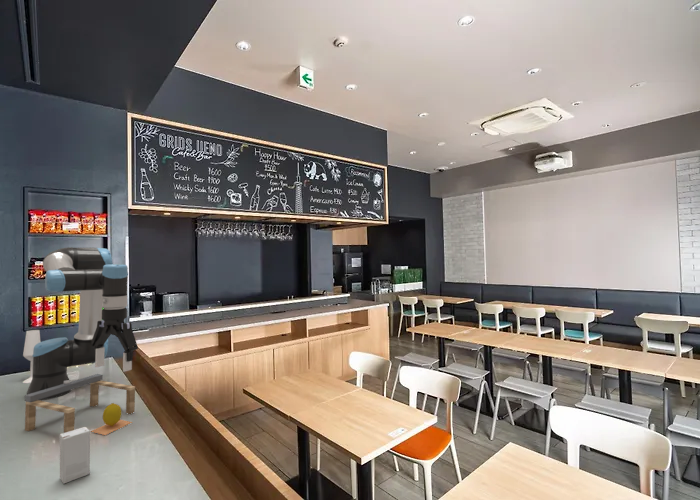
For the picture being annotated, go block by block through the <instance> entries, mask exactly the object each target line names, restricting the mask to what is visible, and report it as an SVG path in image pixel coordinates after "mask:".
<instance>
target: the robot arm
mask: <svg viewBox="0 0 700 500" xmlns="http://www.w3.org/2000/svg"><path fill="white" fill-rule="evenodd" d="M42 266H43V267H42V268H43V270H45V271H46V273H45V277H44V278H45V281H44V282H45V283H44V284H45V285H44V287H45V291H46V292H55V293H61V292H62V293H63V292H76V291H77V292H79V291H80V293H79V296H80V297H79V314H78V315H79V316H78V331H77V332H76V333H75V334H74V336H73V339H70V340H69V339H68V338H67V337H65V336H64V337H55V338H51V339H50V338H49V339H46V340H42V341H40V343H38V344H36V345H35V346H34V350H33V355H32V356H33V376H32V381H31V383H29V386H28V388H27V391H26V395H27V394H31V393H34V392H38V391H41V390H44V389H48V388H51V387H55V386H58V385H61V384H64V381H66V380H70V378H69V375H68V370H67V369H68V368H69V367H74V366H75V367H76V366H83V365H89V364H92V365H93V364H95V365H94V366H95V368H99V367H104V366H105V359H106V358H107V354H108V351H109V350H108V349H109V338H110V337H111V335H112V336H114V337H116V338H117V339H118V341H119V343H120V344H121V346H122V348H123V350H124V351H123V353H122V354H123V355H122V357H123V358H122V372H129V371H131V370H132V369H133V359H134V358H133V357H134V355H133V354H134V351H136V350H138V349H139V346H138V343H137V340H136V337H135V334H134V331H133V327H132V325H133V324H132V322H131V321H129V322H125V320H126V319H127V318H128V308H127V306H128V282H129V281H128V280H129V279H128V277H129V272H128V271H129V270H128V269H129V268H128V265H127V264H116V263H115V264H114V262H113V257H112V253H111V251H110V249H108V248H102V247H69V246H68V247H63V248H58V249H56V250H55V249H54V250H52V251H51V252H49V253H48V254H46V255H45V256H44V258H43V260H42ZM71 391H72V389H71V390H68V391H65V392H62V393H59V394H55V395H52V396H49V397H46V398H43V399H39V400H40V401H44V400H49V399H53V398H57V397H58V398H59V397H61V396H64V395H66V394H68V393H70V392H71Z"/></svg>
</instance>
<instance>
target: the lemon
mask: <svg viewBox="0 0 700 500" xmlns="http://www.w3.org/2000/svg"><path fill="white" fill-rule="evenodd" d="M121 419H122V408H121V406H120V405H119V404H117V403H114V402H112V403H110V404H109V405H107V406H106V407H105V408H104V410H103V413H102V420H103V423H104V425H110V426H113V425H114V424H116V423H117V422H118V421H119V420H121Z"/></svg>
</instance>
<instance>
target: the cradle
mask: <svg viewBox="0 0 700 500" xmlns="http://www.w3.org/2000/svg"><path fill="white" fill-rule="evenodd" d="M89 385H90V386H89V389H90V390H89V407H91V406H93V407H92V408H95V407H97V406H99V395H100V392H99V389H100V388H99V386H102V387H107V388H114V389H117V390H118V389H119V390H125V391H126V394H125V395H126V399H125V414H126V413H128V414H127V415H129V414H130V415H132V414H134V413H133V412H135V405H136V403H135V402H136V386H134V385H129V384H123V383H118V382H112V381H106V380H100V381H97V382H94V383H90V384H89ZM96 405H97V406H96ZM94 406H95V407H94ZM37 407H38V408H42V409H45V410H51V411H55V412H59V413H63V433H66V432H69V431H73V430H75V420H76V419H75V417H76V408H75V407H71V406H66V405H62V404H59V403H57V404H56V403H52V402H48V401H44V400H36V401H33V402H26V401H25V408H24V409H25V410H24V412H25V415H24V416H25V417H24V422H25V423H24V431H25V432H30V431H31V432H32V431H33V430H35V429H36V422H37V421H36V419H37V418H36V417H37V415H36V414H37V413H36V412H37ZM131 413H132V414H131Z"/></svg>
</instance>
